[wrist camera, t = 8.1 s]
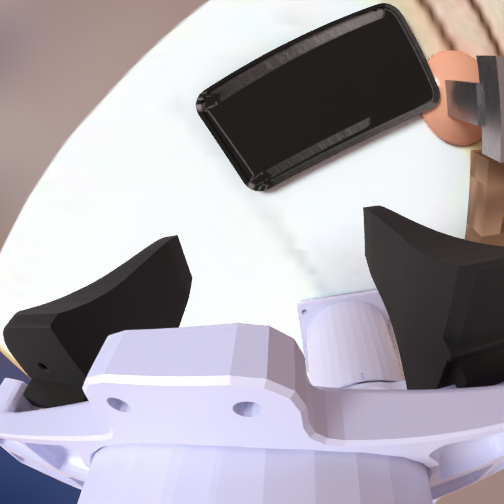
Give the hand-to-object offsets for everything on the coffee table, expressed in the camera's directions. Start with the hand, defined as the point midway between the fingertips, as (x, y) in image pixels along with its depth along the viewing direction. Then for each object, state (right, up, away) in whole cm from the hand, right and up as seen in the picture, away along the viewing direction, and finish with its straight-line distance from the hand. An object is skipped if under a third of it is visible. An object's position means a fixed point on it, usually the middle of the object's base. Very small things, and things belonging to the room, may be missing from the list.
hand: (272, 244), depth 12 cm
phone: (+4, +10, +7) cm, 13 cm away
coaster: (+14, +10, +5) cm, 18 cm away
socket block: (+20, +4, +8) cm, 22 cm away
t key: (+14, +10, +4) cm, 18 cm away
